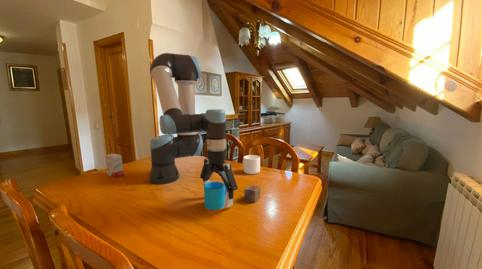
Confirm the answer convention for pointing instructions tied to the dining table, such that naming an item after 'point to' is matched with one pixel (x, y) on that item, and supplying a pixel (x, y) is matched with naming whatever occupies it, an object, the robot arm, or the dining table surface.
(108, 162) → the ink box
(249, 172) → the mug
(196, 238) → the dining table surface
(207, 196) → the mug
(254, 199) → the walnut cube
